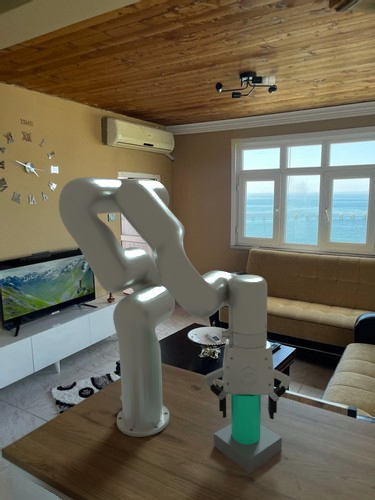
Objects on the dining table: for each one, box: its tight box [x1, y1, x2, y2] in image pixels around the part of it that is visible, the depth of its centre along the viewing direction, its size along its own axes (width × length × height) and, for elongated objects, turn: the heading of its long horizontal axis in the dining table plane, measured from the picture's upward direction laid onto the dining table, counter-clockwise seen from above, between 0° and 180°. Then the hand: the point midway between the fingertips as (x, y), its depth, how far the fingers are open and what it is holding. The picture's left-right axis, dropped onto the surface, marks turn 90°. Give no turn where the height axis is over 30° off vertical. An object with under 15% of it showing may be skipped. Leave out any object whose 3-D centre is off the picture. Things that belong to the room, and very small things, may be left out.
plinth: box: [213, 422, 283, 474], centre depth 76 cm, size 10×10×3 cm
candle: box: [230, 394, 262, 445], centre depth 75 cm, size 6×6×12 cm
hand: (247, 414), depth 75 cm, fingers open, 9 cm apart
